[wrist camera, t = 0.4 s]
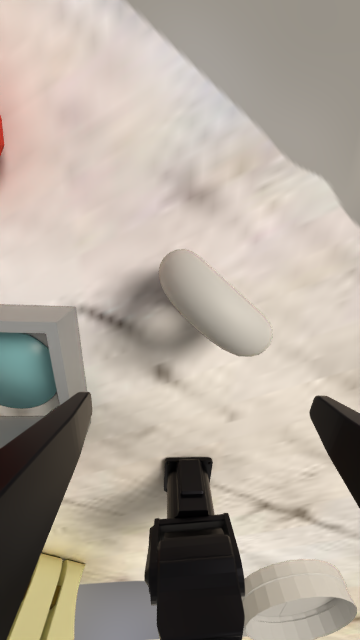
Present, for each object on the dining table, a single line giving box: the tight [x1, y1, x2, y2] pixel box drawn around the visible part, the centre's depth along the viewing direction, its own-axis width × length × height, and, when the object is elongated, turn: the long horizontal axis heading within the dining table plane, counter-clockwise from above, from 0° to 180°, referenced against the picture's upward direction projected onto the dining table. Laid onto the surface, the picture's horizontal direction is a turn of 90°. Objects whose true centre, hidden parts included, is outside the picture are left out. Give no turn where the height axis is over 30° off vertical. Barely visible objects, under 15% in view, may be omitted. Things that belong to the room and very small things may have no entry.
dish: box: [242, 559, 357, 640], centre depth 45 cm, size 22×22×5 cm
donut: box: [159, 249, 272, 357], centre depth 17 cm, size 10×4×10 cm, turn 50°
